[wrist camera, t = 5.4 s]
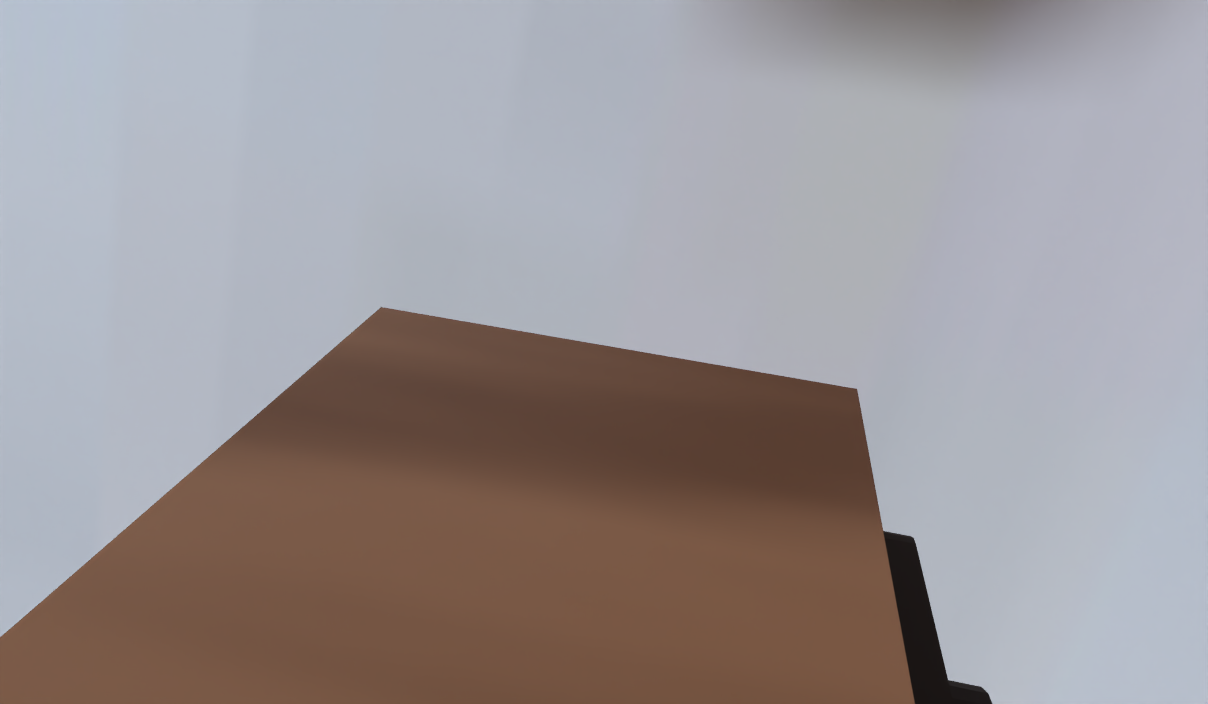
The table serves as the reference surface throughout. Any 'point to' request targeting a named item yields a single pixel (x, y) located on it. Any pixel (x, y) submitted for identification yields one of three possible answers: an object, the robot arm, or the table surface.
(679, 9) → the table surface
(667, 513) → the walnut block
